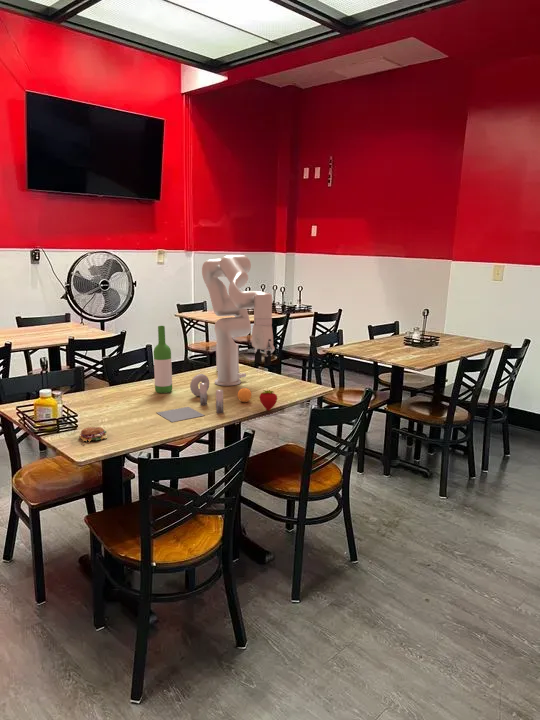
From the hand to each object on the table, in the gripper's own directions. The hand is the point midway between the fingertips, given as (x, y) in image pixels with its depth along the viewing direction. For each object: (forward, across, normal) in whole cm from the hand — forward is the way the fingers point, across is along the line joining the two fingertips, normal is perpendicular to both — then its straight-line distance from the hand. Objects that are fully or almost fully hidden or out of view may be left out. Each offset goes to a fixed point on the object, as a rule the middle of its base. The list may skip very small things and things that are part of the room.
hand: (262, 363), depth 229 cm
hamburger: (+16, +8, -77) cm, 79 cm away
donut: (+16, -19, -20) cm, 32 cm away
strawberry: (+16, +16, -8) cm, 24 cm away
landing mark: (+16, 0, -40) cm, 42 cm away
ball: (+13, 0, -10) cm, 16 cm away
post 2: (+16, +7, -26) cm, 31 cm away
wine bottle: (+16, -35, -30) cm, 49 cm away
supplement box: (+16, -52, +14) cm, 56 cm away
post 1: (+16, -7, -26) cm, 31 cm away
